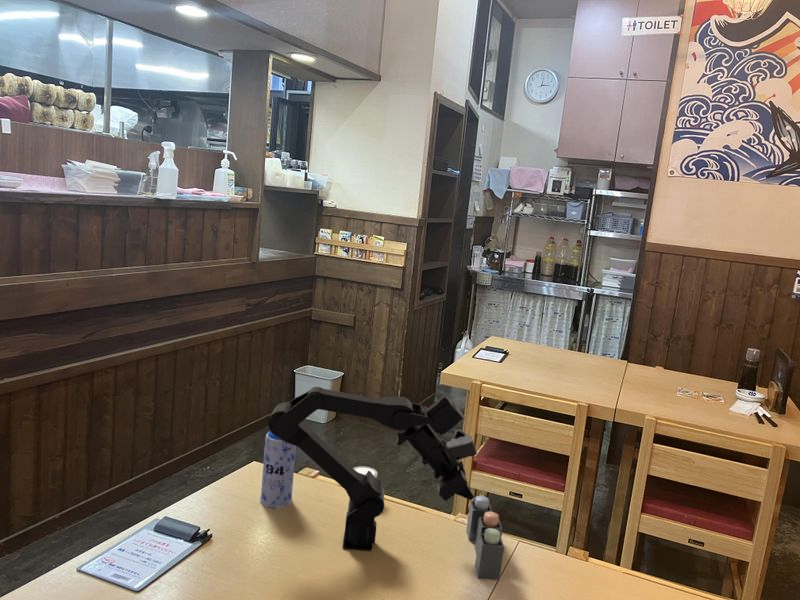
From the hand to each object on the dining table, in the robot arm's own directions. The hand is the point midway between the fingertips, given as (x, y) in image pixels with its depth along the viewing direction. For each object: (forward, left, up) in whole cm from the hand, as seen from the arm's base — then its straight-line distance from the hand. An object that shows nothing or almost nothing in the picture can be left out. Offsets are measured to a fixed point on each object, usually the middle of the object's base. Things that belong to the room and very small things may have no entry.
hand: (472, 498), depth 141 cm
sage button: (+4, -8, -6) cm, 10 cm away
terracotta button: (+5, 0, -6) cm, 8 cm away
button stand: (+4, 0, -13) cm, 14 cm away
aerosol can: (-45, +16, -13) cm, 50 cm away
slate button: (+4, +8, -6) cm, 10 cm away
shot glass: (-24, +22, -13) cm, 35 cm away
